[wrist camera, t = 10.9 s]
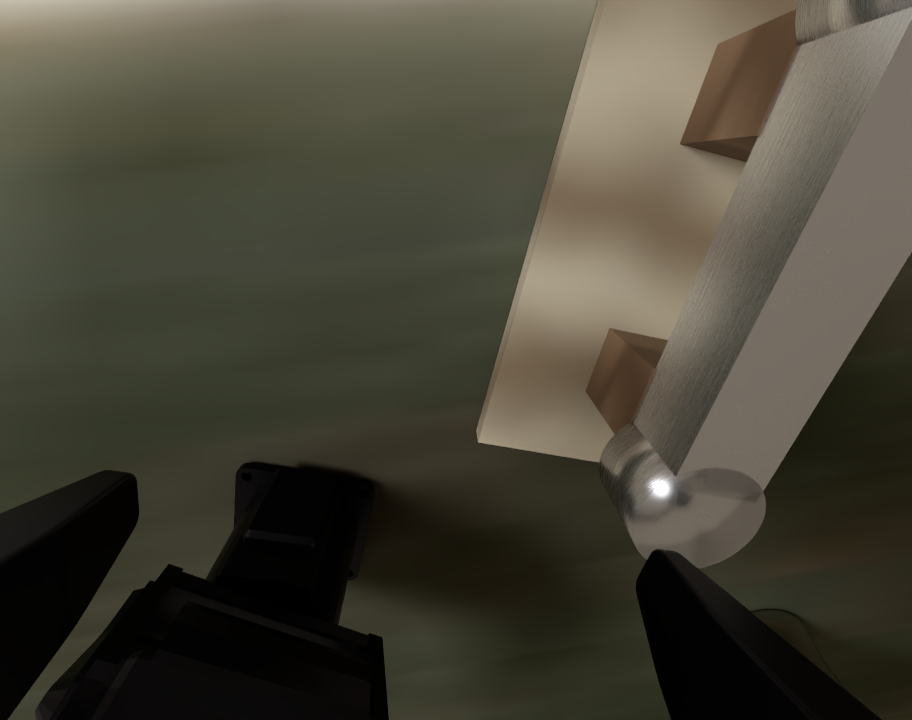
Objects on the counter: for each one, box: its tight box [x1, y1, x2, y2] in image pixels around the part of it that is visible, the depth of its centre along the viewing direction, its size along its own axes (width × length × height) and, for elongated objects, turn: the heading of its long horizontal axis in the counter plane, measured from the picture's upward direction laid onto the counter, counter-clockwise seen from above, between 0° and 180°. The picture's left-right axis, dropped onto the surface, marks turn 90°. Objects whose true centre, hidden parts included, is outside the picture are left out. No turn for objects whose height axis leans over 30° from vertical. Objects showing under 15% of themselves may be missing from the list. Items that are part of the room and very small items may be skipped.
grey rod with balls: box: [599, 0, 912, 569], centre depth 12 cm, size 18×4×3 cm, turn 167°
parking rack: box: [476, 0, 798, 462], centre depth 16 cm, size 20×11×5 cm, turn 167°
